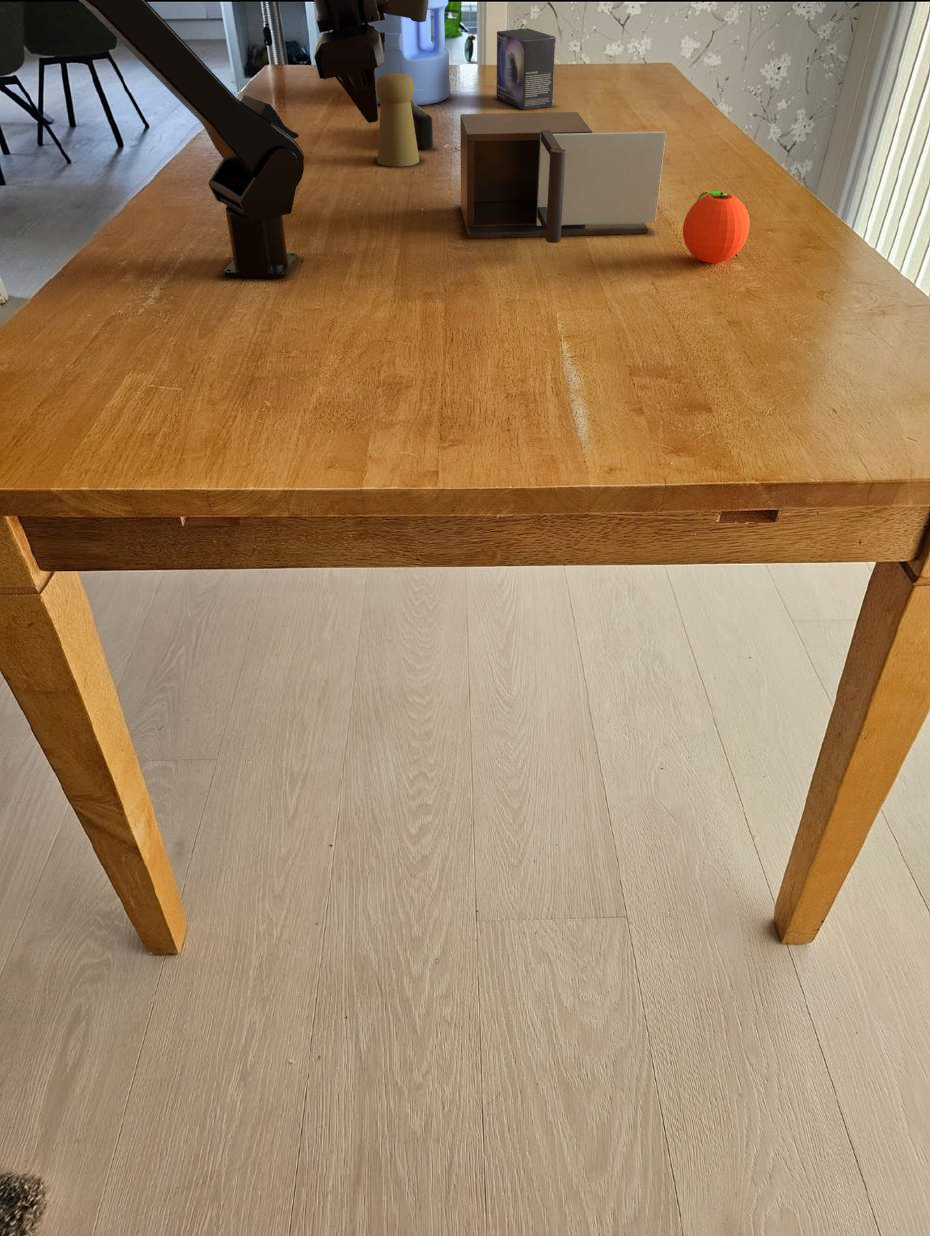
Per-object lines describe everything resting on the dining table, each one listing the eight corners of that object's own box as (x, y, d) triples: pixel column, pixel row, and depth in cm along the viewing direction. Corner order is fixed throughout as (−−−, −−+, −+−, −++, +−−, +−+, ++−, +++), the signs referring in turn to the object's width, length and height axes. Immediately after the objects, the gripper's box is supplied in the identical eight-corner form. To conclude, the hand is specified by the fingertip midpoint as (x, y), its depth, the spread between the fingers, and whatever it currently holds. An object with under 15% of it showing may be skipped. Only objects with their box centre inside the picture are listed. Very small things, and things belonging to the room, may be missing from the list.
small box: (493, 98, 168) (494, 30, 161) (525, 95, 170) (528, 27, 163) (520, 110, 160) (523, 38, 154) (554, 106, 163) (557, 36, 156)
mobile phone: (435, 114, 137) (403, 91, 147) (416, 115, 136) (384, 93, 147) (436, 151, 140) (404, 126, 151) (417, 152, 139) (386, 128, 150)
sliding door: (546, 253, 102) (551, 152, 95) (533, 224, 109) (537, 128, 103) (676, 250, 102) (690, 149, 96) (654, 221, 110) (665, 126, 104)
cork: (369, 163, 134) (363, 75, 127) (391, 153, 138) (387, 68, 131) (405, 168, 132) (402, 79, 125) (427, 158, 136) (424, 71, 129)
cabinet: (468, 238, 108) (468, 139, 102) (460, 207, 118) (460, 114, 111) (647, 233, 110) (659, 134, 103) (625, 203, 119) (635, 110, 112)
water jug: (349, 104, 164) (334, -97, 146) (381, 87, 176) (371, -101, 158) (434, 109, 161) (429, -96, 143) (461, 91, 172) (460, -100, 155)
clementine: (661, 252, 105) (670, 184, 100) (715, 244, 107) (726, 177, 102) (700, 275, 99) (711, 204, 94) (756, 267, 101) (769, 197, 96)
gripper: (416, -52, 81) (451, 137, 92) (414, -94, 94) (444, 76, 105) (291, -22, 82) (341, 160, 93) (306, -68, 95) (348, 97, 106)
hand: (373, 121), depth 99 cm, fingers closed
